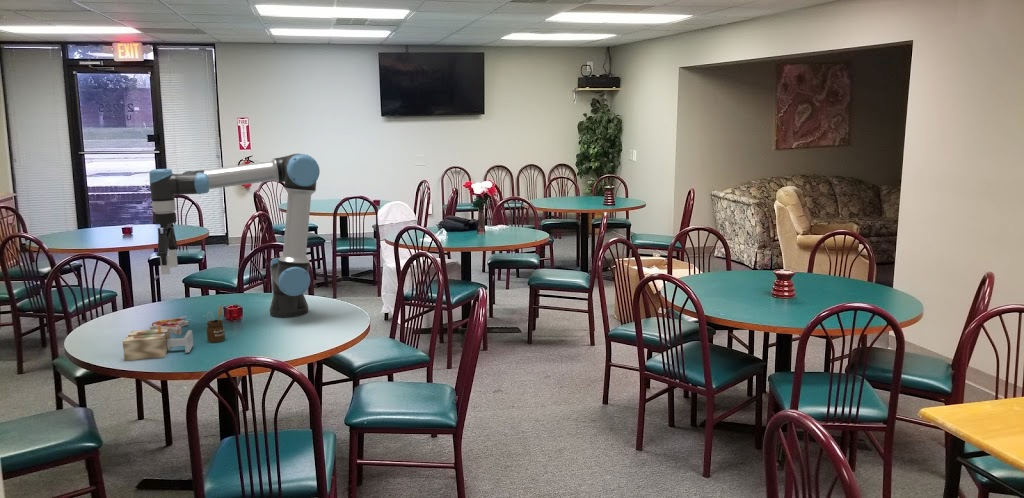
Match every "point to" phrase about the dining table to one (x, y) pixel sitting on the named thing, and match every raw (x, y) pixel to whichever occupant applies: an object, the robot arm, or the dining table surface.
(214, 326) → the utensil holder
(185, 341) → the grey flanged cylinder
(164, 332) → the beige box
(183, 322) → the toy
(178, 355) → the dining table surface
